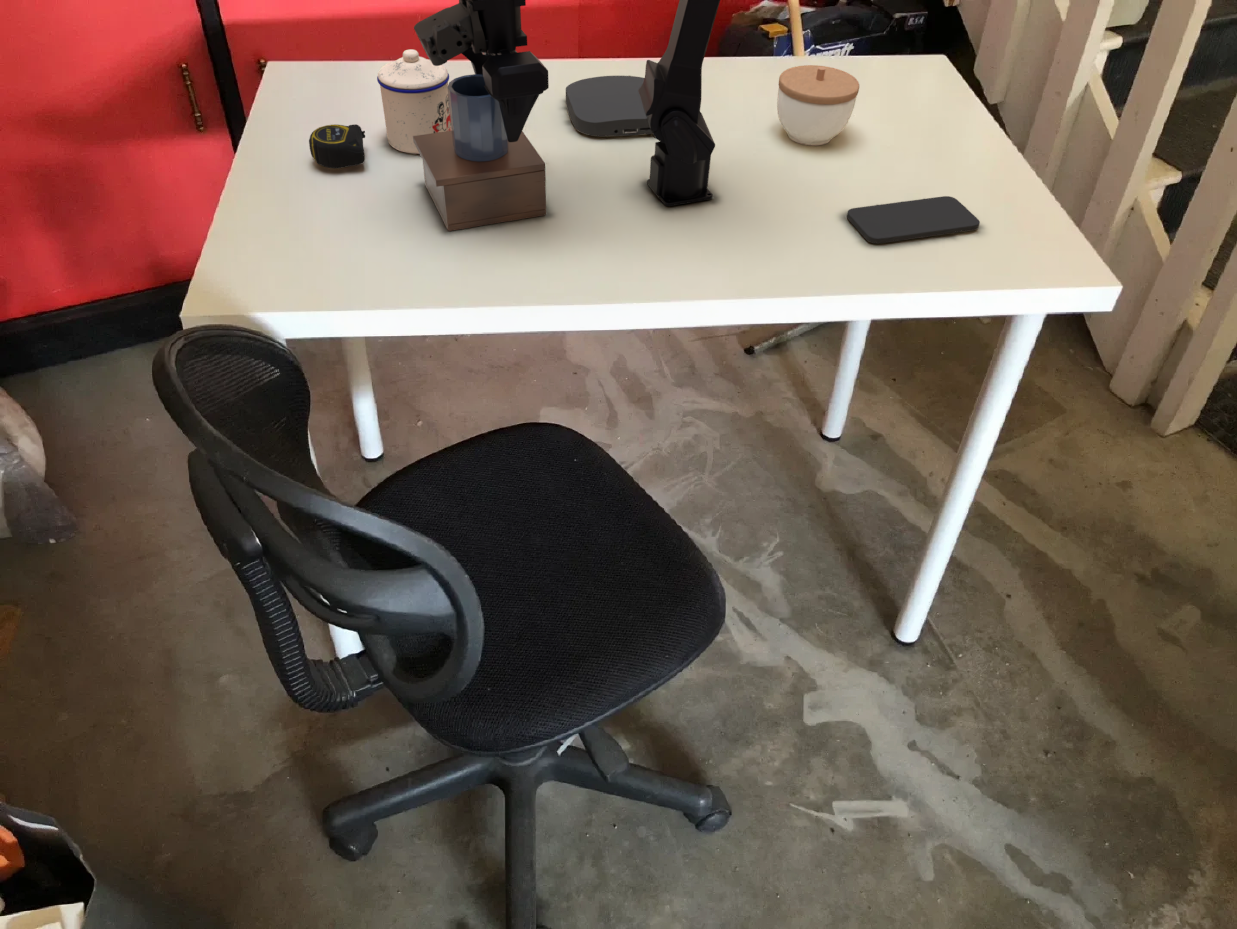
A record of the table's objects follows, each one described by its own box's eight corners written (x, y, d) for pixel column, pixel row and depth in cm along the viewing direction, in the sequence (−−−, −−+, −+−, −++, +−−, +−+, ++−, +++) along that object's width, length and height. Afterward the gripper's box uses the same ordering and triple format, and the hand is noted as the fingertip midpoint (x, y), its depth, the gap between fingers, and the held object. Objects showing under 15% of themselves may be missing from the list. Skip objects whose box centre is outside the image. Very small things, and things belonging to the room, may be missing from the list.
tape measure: (367, 172, 119) (362, 144, 116) (311, 175, 118) (305, 147, 115) (367, 148, 124) (363, 120, 121) (314, 150, 123) (308, 122, 120)
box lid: (436, 186, 105) (435, 180, 105) (413, 142, 113) (412, 135, 112) (545, 169, 109) (545, 163, 108) (516, 127, 116) (515, 121, 116)
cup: (499, 133, 113) (496, 71, 108) (515, 157, 109) (512, 93, 104) (448, 140, 111) (441, 77, 106) (461, 165, 107) (455, 100, 102)
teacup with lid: (449, 157, 122) (440, 67, 114) (379, 154, 122) (366, 64, 114) (462, 117, 131) (455, 31, 123) (397, 114, 131) (386, 28, 123)
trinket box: (862, 147, 129) (878, 78, 122) (794, 158, 126) (806, 88, 119) (822, 114, 136) (835, 48, 129) (757, 124, 133) (767, 57, 126)
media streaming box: (561, 96, 137) (561, 75, 135) (658, 91, 140) (659, 71, 138) (577, 140, 127) (577, 119, 125) (681, 135, 130) (683, 114, 127)
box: (448, 231, 109) (443, 185, 105) (425, 185, 117) (420, 141, 113) (546, 215, 113) (545, 170, 109) (518, 171, 120) (516, 127, 116)
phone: (844, 208, 115) (952, 194, 118) (842, 214, 115) (950, 200, 118) (871, 240, 110) (984, 224, 113) (870, 246, 110) (982, 230, 113)
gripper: (396, -40, 102) (414, 101, 113) (438, 19, 90) (453, 171, 101) (495, -49, 105) (503, 89, 116) (548, 7, 93) (551, 155, 104)
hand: (501, 124), depth 109 cm, fingers open, 9 cm apart
